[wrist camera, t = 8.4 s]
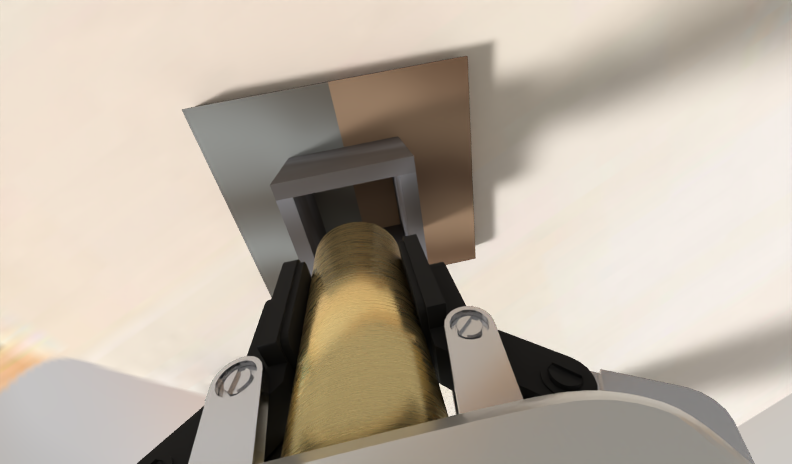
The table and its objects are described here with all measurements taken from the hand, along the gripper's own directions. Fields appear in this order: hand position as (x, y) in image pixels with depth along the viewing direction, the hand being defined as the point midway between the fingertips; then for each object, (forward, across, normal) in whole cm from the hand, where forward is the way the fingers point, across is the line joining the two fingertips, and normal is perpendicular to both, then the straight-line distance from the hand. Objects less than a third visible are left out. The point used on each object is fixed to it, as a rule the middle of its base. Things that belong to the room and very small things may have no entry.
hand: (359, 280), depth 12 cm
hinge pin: (+1, 0, 0) cm, 1 cm away
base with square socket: (+11, 0, 0) cm, 11 cm away
